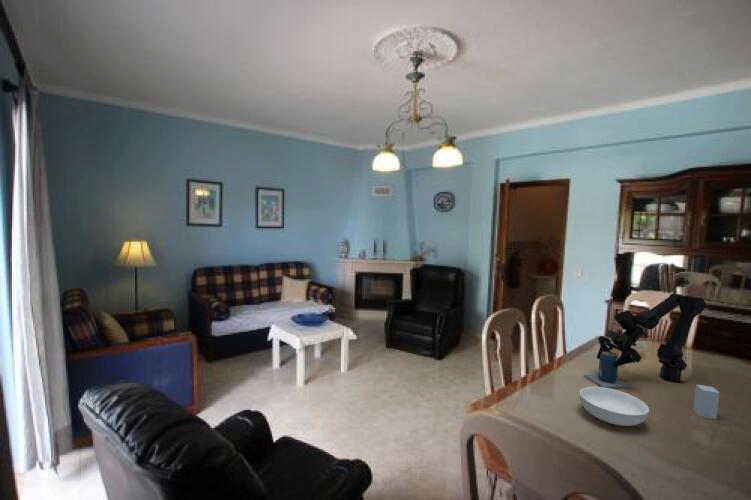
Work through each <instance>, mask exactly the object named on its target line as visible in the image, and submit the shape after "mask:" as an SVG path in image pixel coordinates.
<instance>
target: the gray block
mask: <svg viewBox="0 0 751 500" xmlns="http://www.w3.org/2000/svg"><path fill="white" fill-rule="evenodd" d="M719 401H720V392H719V391H718V389H717V388H715V387H714V386H708V385H703V384H701V385H700V384H695V393H694V401H693V407H692V408H693V411H694V412H695V414H697V416H698V417H700V418H706V419H712V420H717V417H718V409H719Z"/></svg>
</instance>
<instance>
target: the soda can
mask: <svg viewBox="0 0 751 500" xmlns="http://www.w3.org/2000/svg"><path fill="white" fill-rule="evenodd" d="M618 358H619V357H618V354H617V353H615V352H612V351H611V352H608V351H603V352H602V353H601V355H600V359H598V360H599V361H598V362H599V363H598V371H597V374H598V377H599V379H600V380H601V381H603V382H607V383H614V382H615V381H616V380H617V379H618V368H619V366H617V367H613V364H614V363H615V362H616V360H617V359H618Z"/></svg>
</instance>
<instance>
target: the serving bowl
mask: <svg viewBox="0 0 751 500" xmlns="http://www.w3.org/2000/svg"><path fill="white" fill-rule="evenodd" d="M579 400H580V402H581V405H582V406H583V407H584V409H585V410H586V411H587V412H588V413H589V414H590V415H591V416H593V417H595V418H597V419H599V420H601V421H602V422H606V423H608V424H613V425H616V426H622V427H624V426H625V427H634V426H638V425H640V424H641V423H643V422H645V420H646V419H647V417H648V415H649V413H650V408H649V407H648V405H647V403H645V402H644V401H642V400H641V399H639V398H637V397H635V396H633V394H632V395H631V394H629V393H626V392H623V391H621V390H618V389H610V388H604V387H600V386H585V387H583V388H581V389H580V390H579Z"/></svg>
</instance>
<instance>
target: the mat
mask: <svg viewBox="0 0 751 500" xmlns="http://www.w3.org/2000/svg"><path fill="white" fill-rule="evenodd" d="M583 378H585V379H586V380H587V381H589V382H591V383H593V384H595V385H596V386H597V387H604V388H610V389H614V390H618V389H630V385H629V384H627V383H626V382H624V381H621V380H620V379H618V378H617V380H616V381H615V382H614V383H607V382H603V381H601V380H600V379H599V377H598V373H593V374H584V375H583Z"/></svg>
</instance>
